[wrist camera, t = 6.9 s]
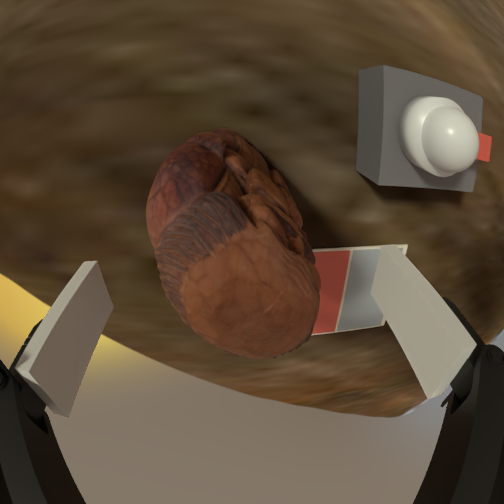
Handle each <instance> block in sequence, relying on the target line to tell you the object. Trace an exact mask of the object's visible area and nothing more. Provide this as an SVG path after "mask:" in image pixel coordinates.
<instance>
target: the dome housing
mask: <svg viewBox="0 0 504 504" xmlns="http://www.w3.org/2000/svg"><path fill="white" fill-rule="evenodd" d="M358 77H359V111H358V141H357V159H356V171H358V172H359V173H361V174H362V175H364V176H365V177H367V178H368V179H370V180H371V181H373V182H374V183H376V184H377V185H383V186H403V187H419V188H433V189H444V190H455V191H465V192H473V189H474V183H475V178H476V171H477V165H478V159H479V160H483V161H487V162H489V158H490V150H491V140H492V137H491V136H488V135H485V134H482V133H481V127H482V105H483V97H481V96H478V95H476V94H474V93H471V92H469V91H466V90H464V89H461V88H459V87H456V86H454V85H451V84H448V83H445V82H442V81H440V80H437V79H433V78H430V77H427V76H424V75H421V74H417V73H414V72H410V71H406V70H402V69H398V68H394V67H390V66H386V65H381V66H375V67H370V68H365V69H361V70H358ZM419 96H433V97H443V98H448V99H450V100H452V101H454V102H455V103H456V104H458V105H459V106H460V107H461V109H462V110H463V111H464V113H465V114H466V115H467V116H468V117H469V118H470V119H471V121H472V122H473V124H474V125H475V127H476V130H477V133H478V136H479V151H478V155H477V158H476V160H475V161H474V163H473V164H472V165H471V166H470V167H469V168H467V169H466V170H464V171H461V172H457V173H455V174H453V175H451V176H448V177H439V176H436V175H433V174H431V173H429V172H428V171H425V170H423V169H421V168H419V167H417V166H416V165H414V164H413V163H411V162H410V161H409V160H408V158H407V157H406V156H405V154H404V152H403V150H402V148H401V145H400V141H399V134H398V126H399V120H400V116H401V113H402V111H403V109H404V108H405V106H406V105H407V104H408V103H409V102H410V101H411V100H412V99H414V98H416V97H419Z"/></svg>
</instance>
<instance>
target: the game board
mask: <svg viewBox="0 0 504 504" xmlns="http://www.w3.org/2000/svg"><path fill="white" fill-rule="evenodd" d="M396 246H397V248H398V249H399V250H400V251H401V252H402V253H403V254H404V255H406V251H407V247H408V245H407V244H401V245H396ZM380 248H381V246H361V247H341V248H321V249H312V251H313V254H314V256H315V259H316V262H315V265H314V266H315V267H316V268H317V270H318V272H319V275H320V279H321V289H320V292H319V294H320V305H319V312H318V316H317V320H316V322H315V325H314V327H313V332H312V335H317V334H326V333H335V332H343V331H351V330H358V329H365V328H371V327H378V326H384V323H385V321H386V319H385V317H384V315H383V313H382V312H381V310H380V308H379V307H378V305H377V303H376V302H375V300H374V298H373V297H372V295H371V289H372V285H373V280H374V276H375V272H376V267H377V263H378V258H379V253H380Z"/></svg>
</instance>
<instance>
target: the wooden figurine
mask: <svg viewBox="0 0 504 504" xmlns="http://www.w3.org/2000/svg"><path fill="white" fill-rule="evenodd" d="M146 220H147V229H148V234H149V237H150V240H151V243H152V245H153V247H154V249H155V258H156V260H157V266H158V270H159V271H160V275H159V277H160V279H161V281H162V287H163V289H164V291H165V294H166V296H167V298H168V299H169V300H170V302H171V304H172V305H173V307H174V308H175V310H176V311H177V312H178V313H179V315H180V316H181V318H182V320H183V322H184V323H185V324H187V325H188V326H189V327H190V328H191V329H192V330H193V331H194V332H195V333H197V334H198V335H200V336H201V337H202V338H203V339H205V340H206V341H208V342H209V343H211V344H212V345H214V346H215V347H218V348H220V349H222V350H224V351H225V352H229V353H232V354H235V355H237V356H243V357H245V358H262V359H266V358H276V357H277V356H279V355H284V354H286V353H287V352H291V351H292V350H294V349H297V348H299V347H300V346H301V345H302V344H303V343H305V342H307V341H308V340H309V338H310V337H311V335H312V332H313V327H314V325H315V322H316V320H317V316H318V312H319V305H320V294H319V292H320V289H321V279H320V275H319V272H318V270H317V268H316V267H315V266H314V265H315V262H316V259H315V256H314V254H313V251H312V247H311V246H310V245H309V243H308V238H307V234H306V232H305V231H304V230H303V229H302V225H303V220H302V217H301V214H300V212H299V210H298V208H297V206H296V203H295V202H294V199H293V197H292V195H291V193H290V191H289V189H288V187H287V185H286V183H285V181H284V179H283V177H282V176H281V174H280V173H279V172H278V171H277V170H276V169H271V170H270V169H269V168H268V166H267V163H266V162H265V160H264V158H263V157H262V155H261V154H260V152H259V151H258V150H257V149H256V148H254V147H253V146H251V145H249V144H248V142H247V141H246V140H245V139H244V138H243V137H242V136H241V135H239V134H238V133H237V132H234V131H232V130H230V129H227V128H218V129H215V130H213V131H211V132H202V133H198V134H196V135H194V136H192V137H191V138H189V139H188V140H187V141H186V142H184V143H183V144H181V145H180V146H179V147H177V148H176V149H175V150H173V151H172V152H171V153H170V154H169V155H168V157H167V158H166V159H165V160H164V161H163V163H162V165H161V166H160V168H159V170H158V172H157V175H156V177H155V179H154V182H153V185H152V187H151V190H150V194H149V197H148V201H147V207H146Z"/></svg>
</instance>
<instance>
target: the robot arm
mask: <svg viewBox="0 0 504 504" xmlns="http://www.w3.org/2000/svg"><path fill="white" fill-rule="evenodd" d="M371 295H372V297H373V298H374V300H375V302H376V303H377V305H378V307H379V308H380V310H381V312H382V313H383V315H384V317H385V319H386V320H387V322H388V324H389V326H390V327H391V329H392V331H393V333H394V334H395V336H396V338H397V340H398V342H399V344H400V345H401V347H402V349H403V351H404V353H405V355H406V357H407V359H408V360H409V362H410V364H411V366H412V368H413V370H414V372H415V374H416V376H417V378H418V380H419V382H420V384H421V386H422V388H423V390H424V392H425V394H426V397H427V399H430V398H433V397H435V396H437V395H440V394H443V392H444V391H445V390H446V389H447V387H448V386H449V385H451V387H452V389H453V390H452V391H451V393H450V394H449V395H448V396H447V398H446V399H445V400H444V401H443V403H442V405H441V407H443V406H444V405H445V404H446V403H447V402H448V405H447V407H446V408H447V409H446V413H445V417H444V420H443V424H442V428H441V431H440V435H439V438H438V442H437V444H436V448H435V450H434V453H433V456H432V459H431V462H430V465H429V467H428V470H427V472H426V475H425V478H424V480H423V482H422V485H421V487H420V489H419V491H418V494H417V496H416V498H415V500H414V502H413V504H504V352H503V351H502V350H501V349H500V348H499V347H497V346H495V345H490V344H489V345H485V344H484V342H483V341H482V340H481V338H480V337H479V335H478V334H477V333H476V331H475V330H474V329H473V327H472V326H471V325H470V323H469V322H468V321H466V318H465V317H464V316H463V314H461V312H460V311H459V309H458V308H457V307H456V306H455V304H454V303H452V302H451V301H449V300H448V299H447V298H445V297H443V298H441V296H440V295H439V294H438V293H437V292H436V290H435V289H434V288H433V287H432V286H431V284H430V283H429V282H428V281H427V280H426V279H425V277H424V276H423V275H422V274H421V273H420V272H419V271H418V269H417V268H416V267H415V266H414V265H413V264H412V263H411V262H410V260H409V259H408V258H407V257H406V256H405V255H404V254H403V253H402V252H401V251H400V250H399V249H398V248H397V246H396V245H381V248H380V253H379V258H378V263H377V267H376V272H375V276H374V280H373V285H372V289H371ZM113 307H114V306H113V304H112V301H111V299H110V296H109V293H108V291H107V288H106V285H105V283H104V280H103V277H102V274H101V271H100V268H99V265H98V262H97V261H87V262H84V263H83V264H82V265H81V267H80V268H79V269H78V271H77V272H76V273H75V274H74V276H73V277H72V279H71V280H70V281H69V283H68V284H67V285H66V287H65V288H64V289H63V291H62V292H61V294H60V295H59V297H58V298H57V299H56V301H55V302H54V304H53V305H52V307H51V308H50V310H49V311H48V313H47V314H46V316H45V317H44V319H42V320H41V321H40V322H39V323H38V324H37V325H35V326H34V327H33V329H32V331H31V332H30V334H29V335H28V338H27V339H26V340H25V342H24V345H22V347H21V349H20V351H19V352H18V354H17V356H16V358H15V359H14V361H13V363H12V365H11V367H10V369H9V370H8V369H7V368H6V366H5V365H4V364H3V362H2V361H1V360H0V504H86V503H85V501H84V499H83V497H82V495H81V493H80V492H79V490H78V488H77V486H76V484H75V482H74V480H73V478H72V476H71V473H70V471H69V469H68V467H67V465H66V463H65V460H64V458H63V455H62V453H61V450H60V448H59V445H58V443H57V440H56V437H55V435H54V432H53V429H52V426H51V423H50V420H49V417H48V415H47V413H46V412H45V411H44V410H45V407H46V405H47V406H48V407H49V408H50V409H51V410H52V411H53V412H54V413H55V414H59V415H63V416H66V417H69V414H70V412H71V409H72V406H73V403H74V400H75V397H76V395H77V392H78V389H79V386H80V384H81V381H82V379H83V376H84V374H85V371H86V369H87V366H88V364H89V361H90V359H91V356H92V354H93V351H94V349H95V347H96V345H97V342H98V340H99V338H100V335H101V333H102V331H103V329H104V327H105V324H106V322H107V320H108V318H109V316H110V314H111V312H112V310H113Z"/></svg>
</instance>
